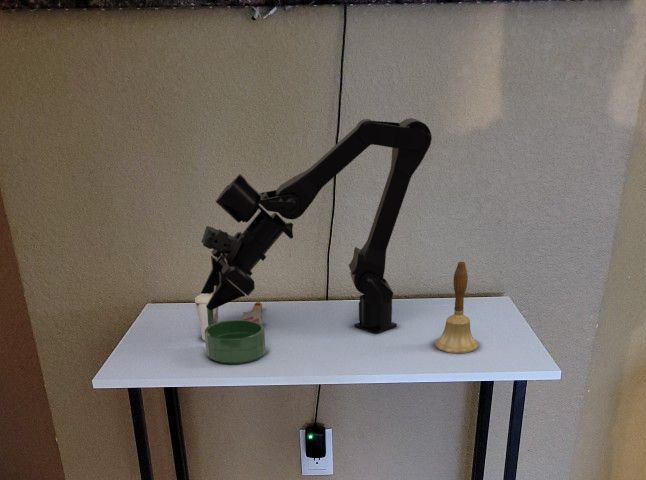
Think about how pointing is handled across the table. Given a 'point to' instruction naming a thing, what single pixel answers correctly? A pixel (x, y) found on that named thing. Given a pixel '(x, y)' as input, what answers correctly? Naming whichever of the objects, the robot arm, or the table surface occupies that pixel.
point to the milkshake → (205, 312)
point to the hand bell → (458, 320)
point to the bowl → (235, 341)
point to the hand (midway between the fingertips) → (205, 301)
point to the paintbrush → (254, 313)
